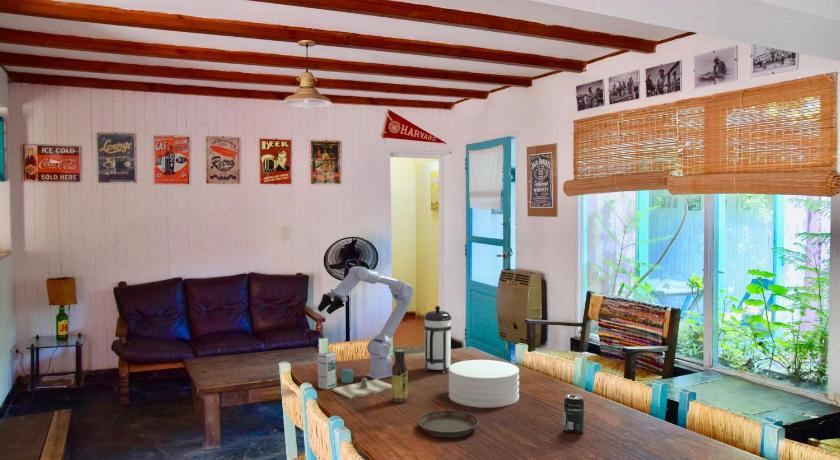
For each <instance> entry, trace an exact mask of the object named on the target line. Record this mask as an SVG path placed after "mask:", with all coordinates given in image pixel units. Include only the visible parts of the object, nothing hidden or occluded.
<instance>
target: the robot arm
mask: <svg viewBox="0 0 840 460" xmlns="http://www.w3.org/2000/svg"><path fill="white" fill-rule="evenodd" d="M360 282H364V283H368V284H372V285H376V284H377V283H380V284H383V285H387V286H388V289H390V293H391V296H392V297H393V299H394V301H395V306H394V309H393V311H392V312H391V313H390V315H389V317H388V319H387V320H386V322H385V324H384V325H383V327H382V329H381V331H380V332H379V334H377V335H375V336H374V337H373V338H372V340H370V341H369V342H368V343H367V347H366V348H367V349H366V350H367V352H368V353H369V357H370V364H369V365H370V366H369V367H370V368H369V370H370V373H367V374H366V377H369V378H371V379H373V380H375V379H378V380H380V379H385V378H390V377H392V367H393V360H392V357H391V356H390V355H389V354H390V350H391V347H392V342H391V339H392V337H393V336H394V334H395V332H396V330H397V329H398V327H399V326H400V324H401V321H402V320H403V318H404V316H405V315H406V313H407V311H408V309H410V304H411V299H412V297H413V295H414V289H413V286H412V285H411V284H410V283H406V282H405V281H402V280H399V279H397V278H393V277H388V276H383V275H380V274H379V272H378V271H377V270H376V269H375V268H374V269H373V268H372V269H368V268H367V267H366V266H365V267H364V266H357V265H356V266H355V265H354V266H353V267H350V268H349V270H348V274H347V275H346V276H344V278H343V279H342V280H341V281H340V283H339V284H338V285H337V286H336V287H335V288H334V289H333V288H331V289H330V291H329V292H326V293H323V294H322V297H321V300H320V303H319V304H318V306H317V310H318V311H319V312H320V313H321V312H322V311H323V312H324V310H325V309H326V310H325V311H326V313H327V314H328V315H332V313H334V312H335V311H337V310H338V309H341V308H344V307H345V303H346V302H347V301H348V294H350V293H351V292H352V290H353V289H354V288H355V287H356V286H357V284H359V283H360Z"/></svg>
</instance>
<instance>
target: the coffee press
mask: <svg viewBox="0 0 840 460" xmlns="http://www.w3.org/2000/svg"><path fill="white" fill-rule="evenodd" d="M434 309H435V310H431V311H427V312H426V313H425V315H424V316H423V320H424V324H423V329H424V368H423V369H422V371H423V372H424V373H427V372H428V371H429V370H434V371H435V370H437V371H439V370H440V371H442V373H443V374H448V369H449V366H450V365H452V363H451V351H452V348H451V343H452V342H451V341H452V339H451V335H452V333H451V330H452V324H451V321H452V316H451V314H450V313H449V312H447V311H445V310H441V307H440V306H439V305H436V306H435V308H434Z"/></svg>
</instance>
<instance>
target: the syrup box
mask: <svg viewBox="0 0 840 460" xmlns="http://www.w3.org/2000/svg"><path fill="white" fill-rule="evenodd" d="M337 362H338V361H337V353H336V352H334V351H329V350H328V351H324V352H320V353H317V382H318V383H317V384H318V385H317V386H318V388H319V389H324V390H330V389H333V388H336V387H338V369H337V367H338V366H337Z"/></svg>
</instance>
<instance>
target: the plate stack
mask: <svg viewBox="0 0 840 460" xmlns="http://www.w3.org/2000/svg"><path fill="white" fill-rule="evenodd" d="M519 374H520V368H519V367H518V366H517V365H515V364H512V363H510V362H505V361H499V360H494V359H493V360H492V359H472V360H471V359H470V360H469V359H468V360H463V361H462V360H461V361H458V362H455V363H451V365H450V366H449V368H448V398H449V399H450V400H451V401H452V402H454V403H457V404H459V405H462V406H466V407H467V406H468V407H473V408H488V409H489V408H500V407H505V406H510V405H513V404H516V403H517V402H518V401H519V400H520V375H519Z"/></svg>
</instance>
